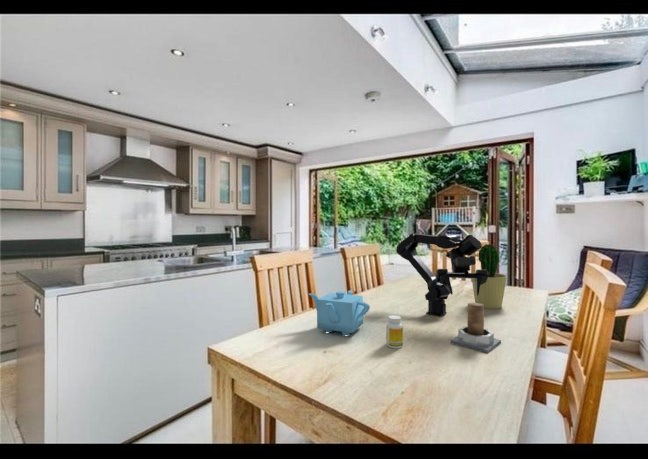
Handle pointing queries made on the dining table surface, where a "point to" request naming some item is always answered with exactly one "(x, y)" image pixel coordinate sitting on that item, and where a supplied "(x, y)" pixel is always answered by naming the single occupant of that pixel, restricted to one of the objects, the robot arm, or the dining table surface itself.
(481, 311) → the peg
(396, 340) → the supplement bottle
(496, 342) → the dock
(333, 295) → the teakettle
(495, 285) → the potted cactus
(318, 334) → the dining table surface
